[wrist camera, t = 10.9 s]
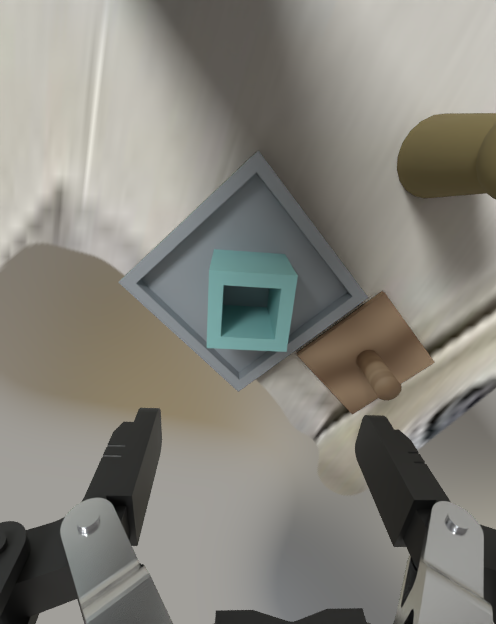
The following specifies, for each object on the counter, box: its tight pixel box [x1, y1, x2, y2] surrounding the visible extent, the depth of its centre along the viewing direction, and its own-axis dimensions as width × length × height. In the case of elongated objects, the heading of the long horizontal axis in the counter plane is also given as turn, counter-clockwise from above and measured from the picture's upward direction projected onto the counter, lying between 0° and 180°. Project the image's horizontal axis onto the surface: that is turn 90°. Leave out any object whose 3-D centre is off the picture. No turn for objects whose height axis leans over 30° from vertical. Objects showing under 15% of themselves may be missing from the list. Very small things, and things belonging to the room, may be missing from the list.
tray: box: [119, 151, 368, 391], centre depth 28 cm, size 15×15×2 cm
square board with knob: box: [297, 291, 434, 414], centre depth 30 cm, size 10×10×6 cm
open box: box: [207, 249, 298, 352], centre depth 26 cm, size 8×6×6 cm
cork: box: [397, 113, 496, 199], centre depth 20 cm, size 6×6×11 cm
